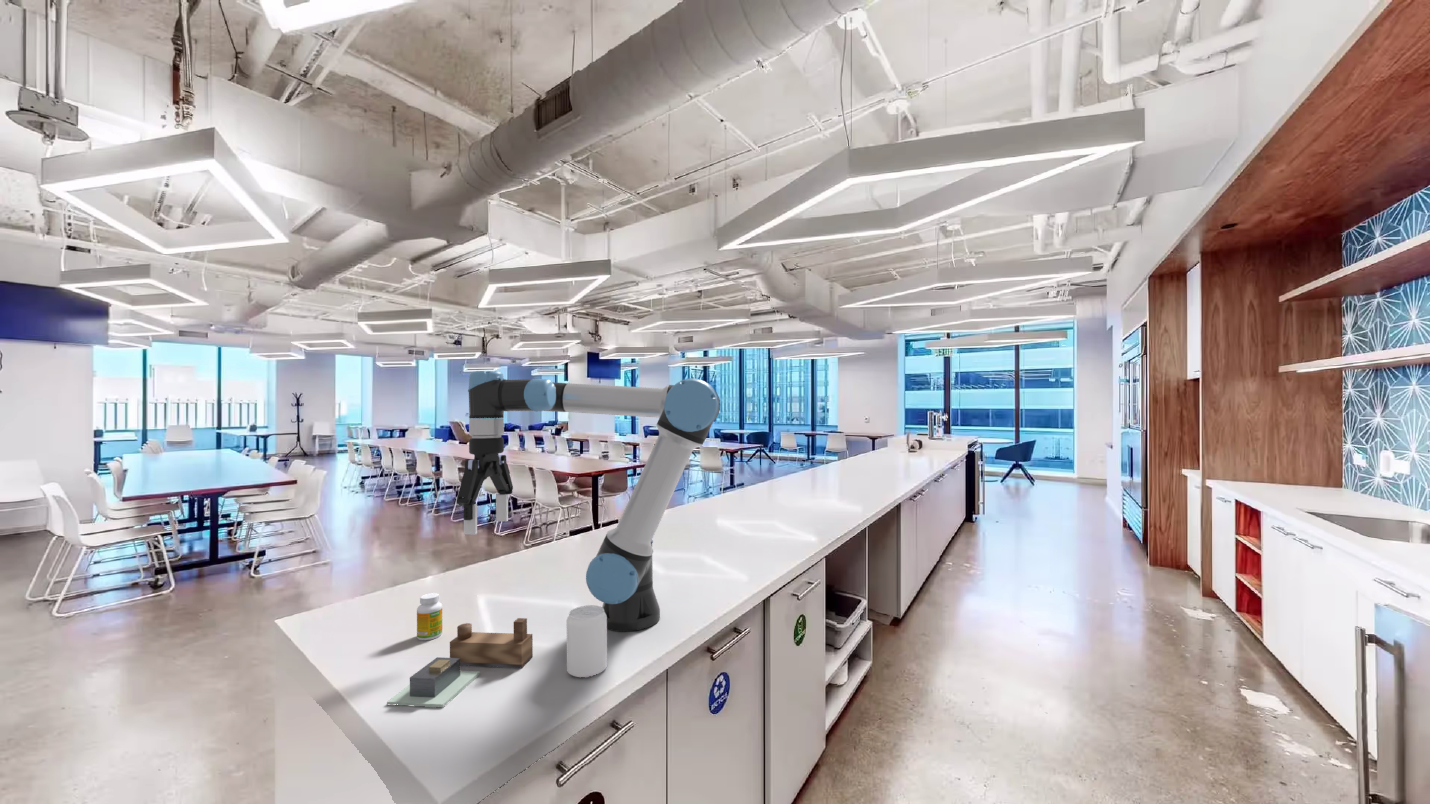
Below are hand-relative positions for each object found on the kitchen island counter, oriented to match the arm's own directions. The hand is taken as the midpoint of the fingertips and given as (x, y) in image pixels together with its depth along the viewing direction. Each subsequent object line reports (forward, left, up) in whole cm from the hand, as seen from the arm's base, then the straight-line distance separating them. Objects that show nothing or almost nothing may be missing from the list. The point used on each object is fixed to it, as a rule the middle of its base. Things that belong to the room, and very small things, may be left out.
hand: (487, 527), depth 122 cm
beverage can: (-28, +11, -27) cm, 40 cm away
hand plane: (-6, +9, -27) cm, 29 cm away
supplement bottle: (+16, -2, -27) cm, 31 cm away
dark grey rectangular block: (-1, +20, -26) cm, 33 cm away
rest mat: (-1, +21, -27) cm, 34 cm away
